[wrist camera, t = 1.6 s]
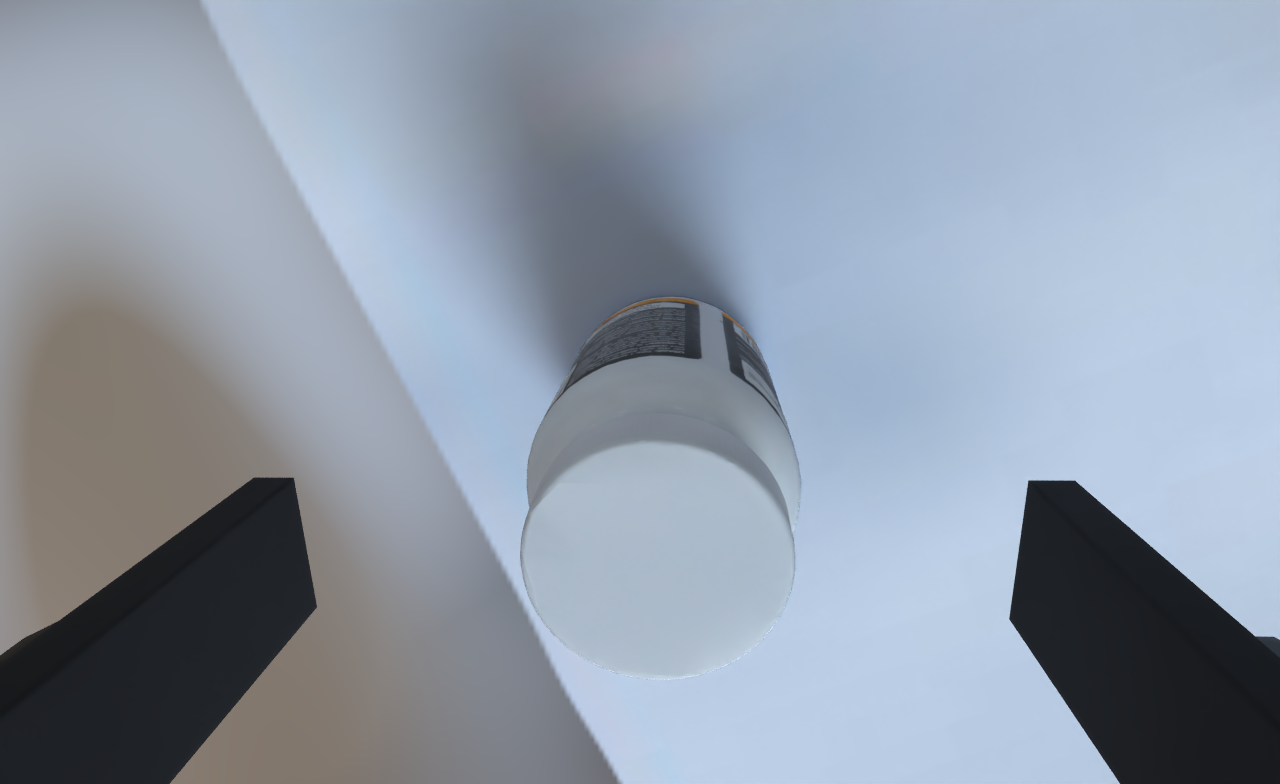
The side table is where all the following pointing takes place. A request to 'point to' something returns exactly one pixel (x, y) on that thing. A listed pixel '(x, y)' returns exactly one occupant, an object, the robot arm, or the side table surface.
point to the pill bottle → (662, 496)
